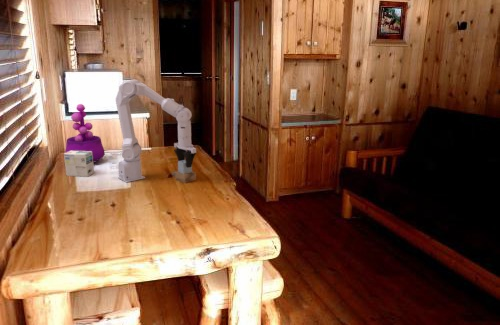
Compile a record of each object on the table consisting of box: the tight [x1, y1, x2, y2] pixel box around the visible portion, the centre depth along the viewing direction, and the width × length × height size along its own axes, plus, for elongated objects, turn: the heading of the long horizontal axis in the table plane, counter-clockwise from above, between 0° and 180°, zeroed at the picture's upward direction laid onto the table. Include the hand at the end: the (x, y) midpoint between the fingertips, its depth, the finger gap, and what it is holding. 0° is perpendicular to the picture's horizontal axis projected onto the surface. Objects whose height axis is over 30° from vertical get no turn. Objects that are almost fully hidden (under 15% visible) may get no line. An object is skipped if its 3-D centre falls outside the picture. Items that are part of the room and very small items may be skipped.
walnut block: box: [174, 170, 197, 184], centre depth 182 cm, size 6×6×4 cm
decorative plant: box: [64, 103, 106, 163], centre depth 203 cm, size 19×18×30 cm
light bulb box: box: [63, 150, 95, 178], centre depth 186 cm, size 11×7×11 cm, turn 84°
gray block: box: [177, 159, 193, 174], centre depth 181 cm, size 4×4×5 cm
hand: (185, 165), depth 181 cm, fingers open, 5 cm apart
